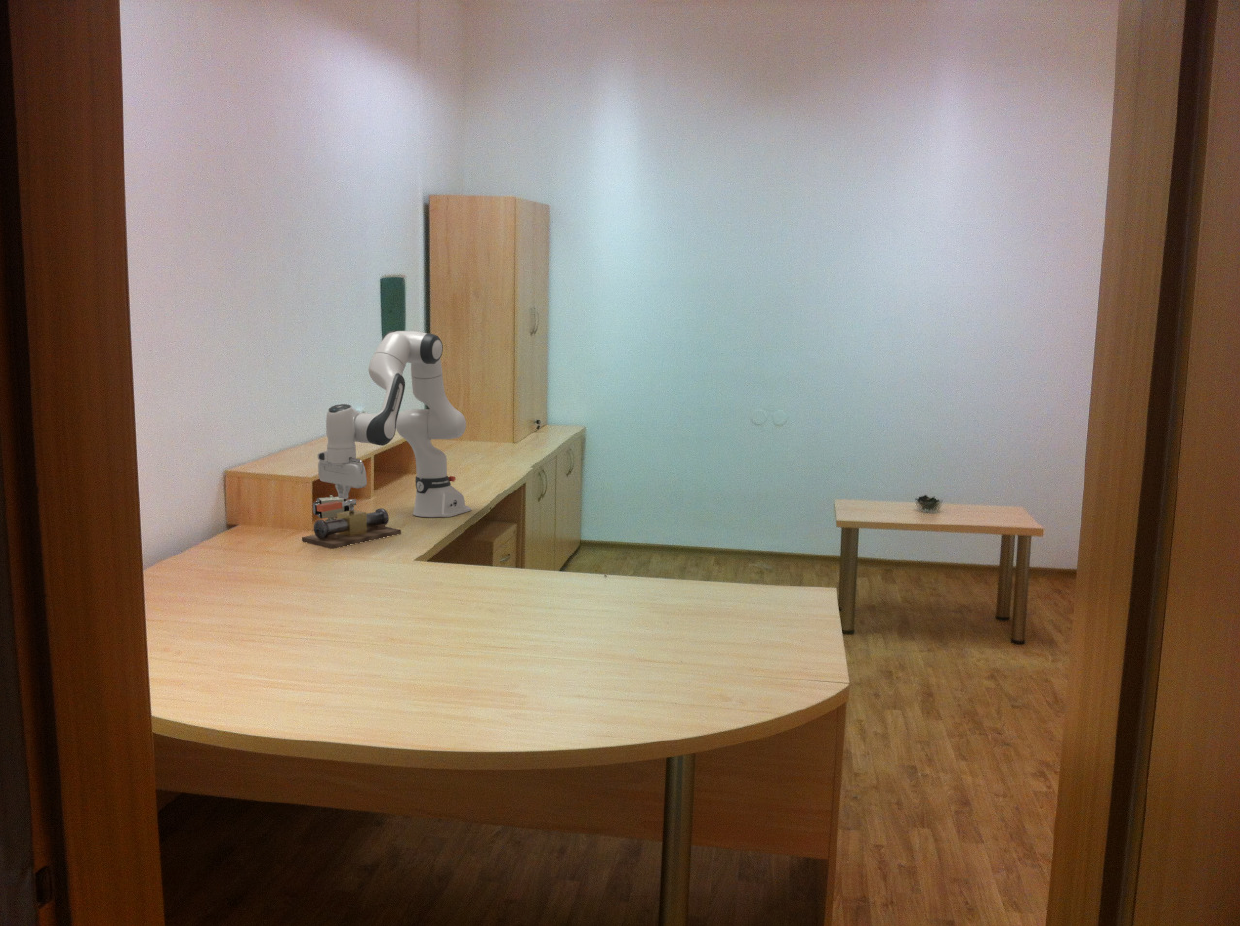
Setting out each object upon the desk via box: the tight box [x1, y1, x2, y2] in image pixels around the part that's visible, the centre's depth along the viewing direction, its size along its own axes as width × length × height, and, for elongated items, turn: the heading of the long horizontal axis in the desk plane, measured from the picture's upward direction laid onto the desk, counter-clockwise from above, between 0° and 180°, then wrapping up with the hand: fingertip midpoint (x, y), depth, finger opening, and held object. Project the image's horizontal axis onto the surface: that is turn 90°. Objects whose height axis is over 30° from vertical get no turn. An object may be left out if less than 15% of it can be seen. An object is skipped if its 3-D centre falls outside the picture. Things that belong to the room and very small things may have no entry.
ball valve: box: [313, 505, 389, 539], centre depth 343 cm, size 26×6×9 cm, turn 143°
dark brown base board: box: [301, 524, 402, 550], centre depth 343 cm, size 28×16×3 cm, turn 143°
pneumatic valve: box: [312, 494, 349, 521], centre depth 355 cm, size 6×12×12 cm, turn 117°
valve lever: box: [317, 498, 357, 512], centre depth 337 cm, size 14×3×2 cm, turn 145°
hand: (343, 498), depth 332 cm, fingers closed
